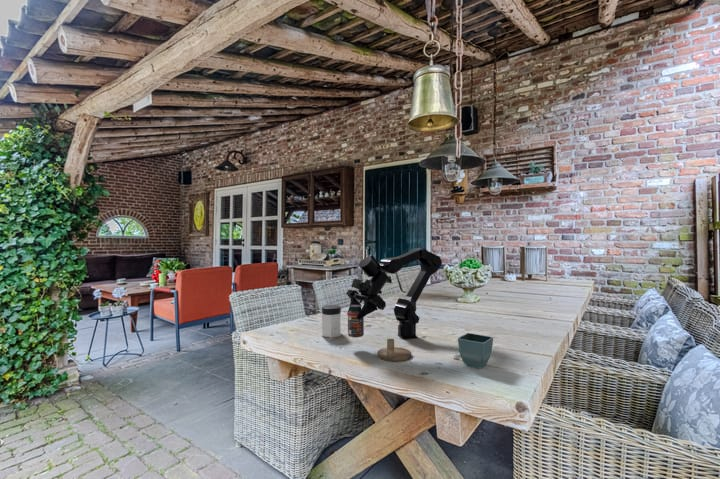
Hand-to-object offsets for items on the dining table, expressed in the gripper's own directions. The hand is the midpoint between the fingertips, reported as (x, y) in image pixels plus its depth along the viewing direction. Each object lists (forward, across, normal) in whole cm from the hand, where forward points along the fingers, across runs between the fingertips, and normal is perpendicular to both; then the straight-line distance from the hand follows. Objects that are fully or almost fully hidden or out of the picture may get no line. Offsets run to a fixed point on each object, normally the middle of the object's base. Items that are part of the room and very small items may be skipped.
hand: (352, 317), depth 128 cm
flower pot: (-7, +37, +25) cm, 45 cm away
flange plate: (+3, +14, +14) cm, 20 cm away
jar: (+6, -22, +11) cm, 25 cm away
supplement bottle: (+4, 0, +6) cm, 8 cm away
